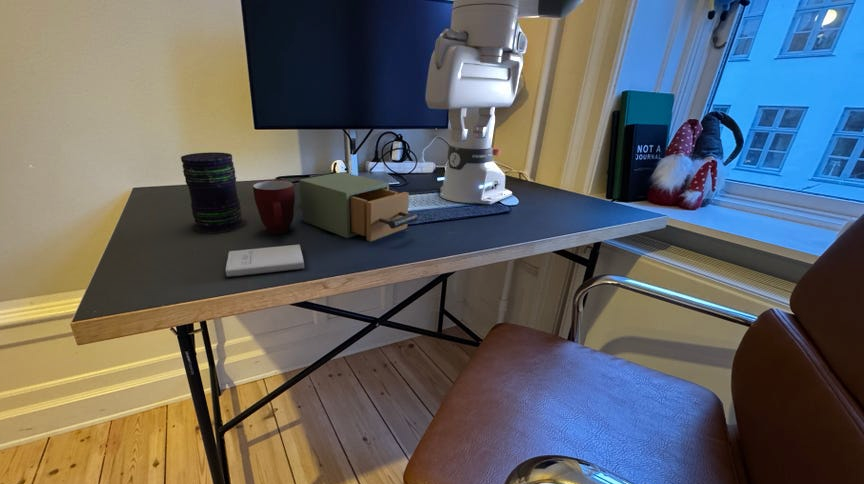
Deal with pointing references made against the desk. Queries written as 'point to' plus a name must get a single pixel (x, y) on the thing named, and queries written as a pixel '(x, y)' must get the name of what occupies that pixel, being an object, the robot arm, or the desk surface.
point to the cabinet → (333, 200)
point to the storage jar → (212, 191)
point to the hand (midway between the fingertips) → (469, 139)
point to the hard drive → (264, 260)
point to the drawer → (379, 213)
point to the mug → (275, 204)
